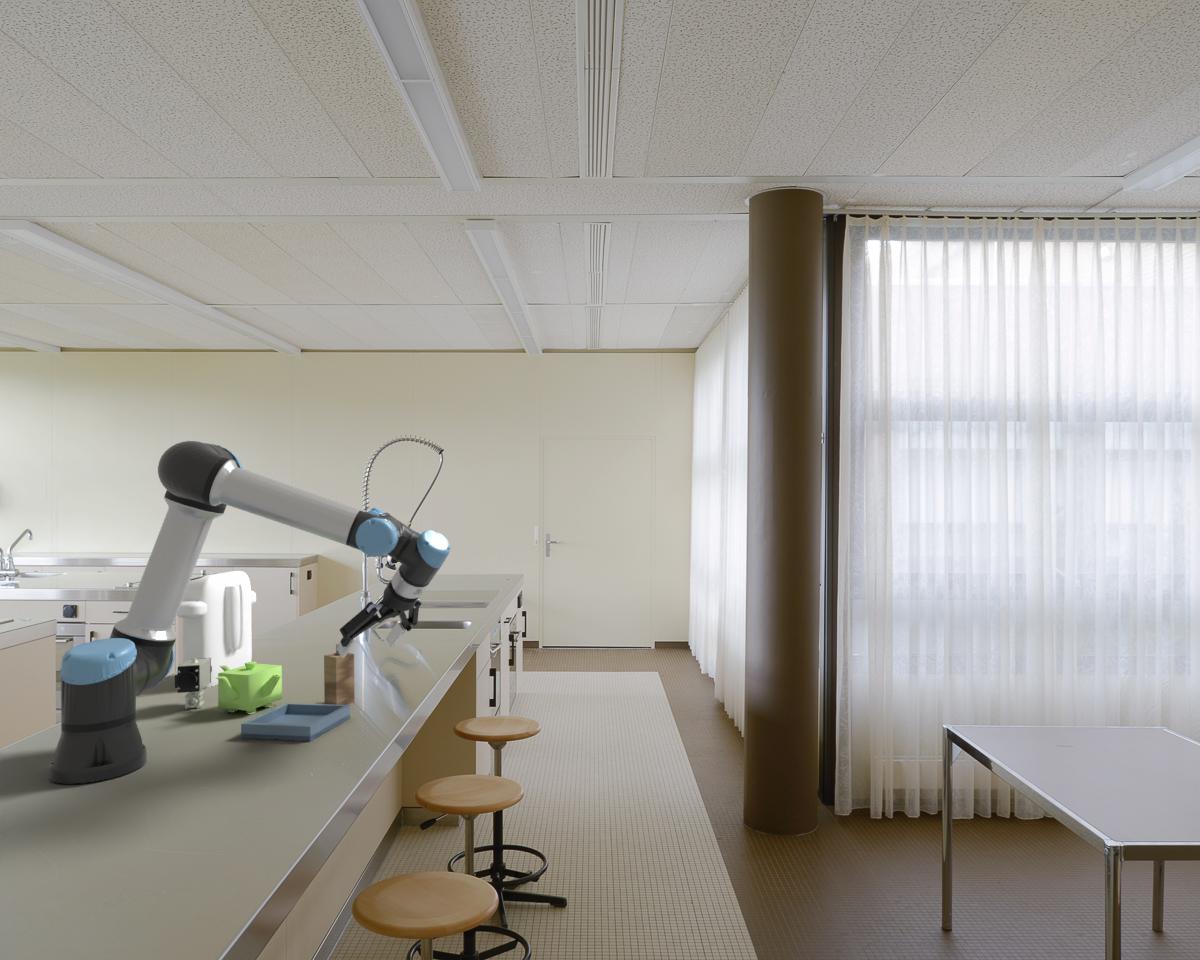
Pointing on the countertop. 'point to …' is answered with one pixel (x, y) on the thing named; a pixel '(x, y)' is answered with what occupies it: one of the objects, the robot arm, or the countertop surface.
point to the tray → (296, 721)
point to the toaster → (218, 620)
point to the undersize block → (339, 678)
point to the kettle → (249, 686)
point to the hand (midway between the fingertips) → (365, 647)
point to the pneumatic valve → (193, 680)
